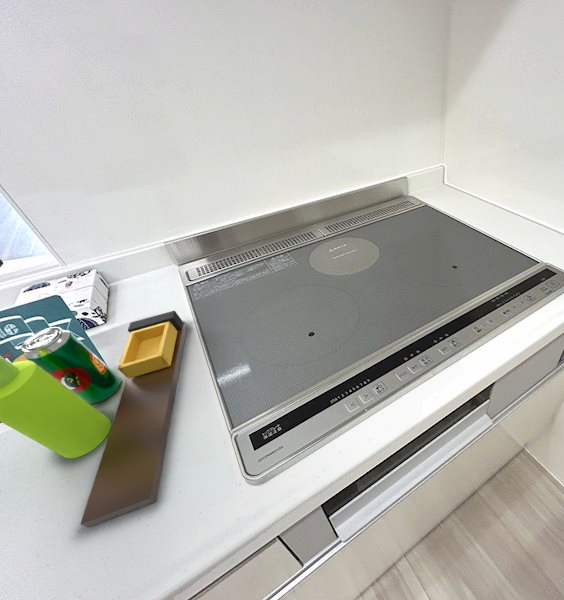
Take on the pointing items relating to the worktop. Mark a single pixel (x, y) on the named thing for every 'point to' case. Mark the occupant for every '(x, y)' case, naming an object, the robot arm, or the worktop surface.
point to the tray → (148, 350)
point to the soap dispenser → (48, 410)
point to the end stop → (157, 321)
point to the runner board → (135, 443)
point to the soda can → (71, 364)
